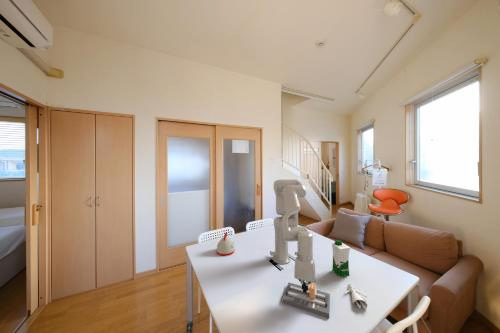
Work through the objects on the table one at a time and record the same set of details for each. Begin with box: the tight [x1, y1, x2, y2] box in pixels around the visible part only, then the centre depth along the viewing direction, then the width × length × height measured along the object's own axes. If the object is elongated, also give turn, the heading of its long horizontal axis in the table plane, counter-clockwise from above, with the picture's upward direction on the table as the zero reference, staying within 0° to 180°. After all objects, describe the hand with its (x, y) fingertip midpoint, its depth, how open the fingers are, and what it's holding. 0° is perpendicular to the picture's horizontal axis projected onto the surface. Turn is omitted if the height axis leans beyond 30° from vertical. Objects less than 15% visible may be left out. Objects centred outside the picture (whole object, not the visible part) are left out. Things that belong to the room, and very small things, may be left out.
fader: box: [308, 283, 316, 299], centre depth 92 cm, size 3×4×6 cm
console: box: [281, 281, 331, 319], centre depth 94 cm, size 22×14×3 cm, turn 65°
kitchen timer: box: [216, 231, 235, 257], centre depth 145 cm, size 14×14×15 cm
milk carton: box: [331, 239, 351, 278], centre depth 116 cm, size 9×9×20 cm
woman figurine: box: [343, 283, 368, 310], centre depth 94 cm, size 12×4×18 cm
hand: (304, 291), depth 94 cm, fingers closed
